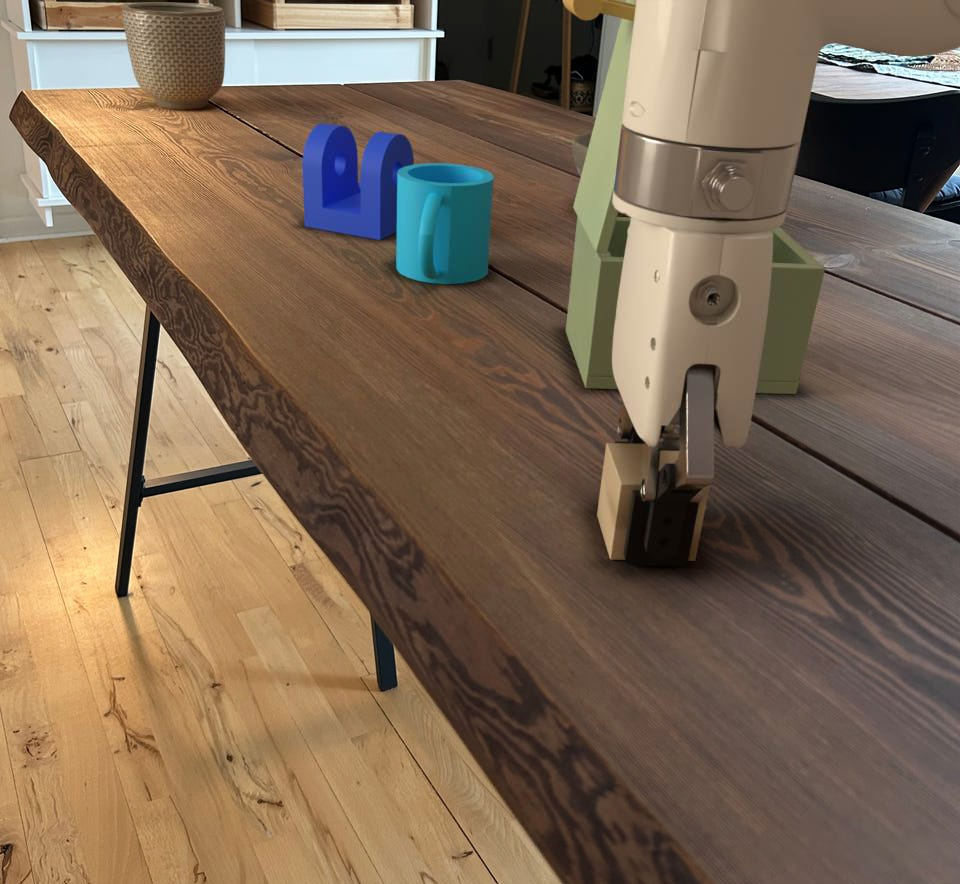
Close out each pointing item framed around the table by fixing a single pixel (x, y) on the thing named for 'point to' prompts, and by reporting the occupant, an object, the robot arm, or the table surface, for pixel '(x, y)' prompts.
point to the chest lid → (604, 126)
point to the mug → (443, 222)
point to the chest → (598, 297)
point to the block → (630, 495)
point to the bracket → (352, 181)
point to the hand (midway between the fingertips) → (645, 531)
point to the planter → (176, 51)
